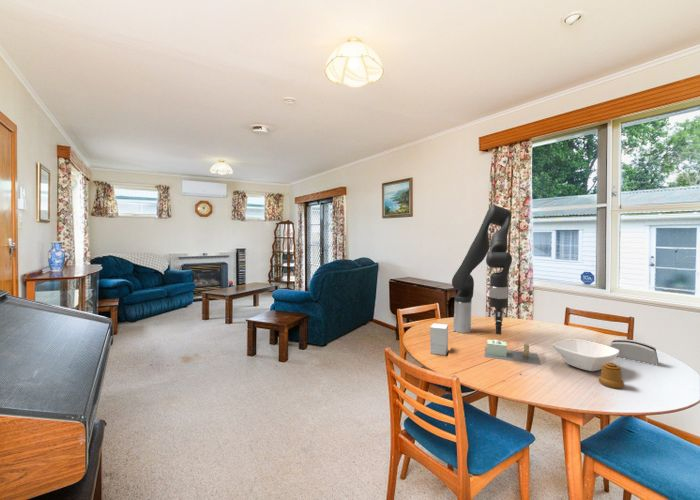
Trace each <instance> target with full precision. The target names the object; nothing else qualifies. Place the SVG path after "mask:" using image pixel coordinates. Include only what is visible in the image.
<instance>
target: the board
mask: <svg viewBox="0 0 700 500" xmlns="http://www.w3.org/2000/svg"><path fill="white" fill-rule="evenodd" d="M494 340H495V341H494V344H499V341H500V340H499V339H494ZM483 356H484V357H483V358H488V359H495V360H503V361H510V362H517V363H518V362H519V363H523V364H524V363H525V364H526V363H527V364H533V365H540V366H541V365H542V363H541V361H540V357H539V354H538V353H535V352H530V345H529V344H528V343H524V344H523V351H519V350H510V349H507V356H506V357H503V356H496V355H488V354H487V346H485V347H484V355H483Z"/></svg>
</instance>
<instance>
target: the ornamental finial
mask: <svg viewBox="0 0 700 500" xmlns="http://www.w3.org/2000/svg"><path fill="white" fill-rule="evenodd" d="M622 375H623V374H622V368H620V366H619V365H617V364H616V363H614V362H607V363H606V364H604V365H602V369H601V374H600V375H599V376H598V382H599V383H600V384H601V385H603V386H604V387H606V388H610V389H616V390H618V389H622V388H623V387H624V386H625V382H624V380H623V379H622Z"/></svg>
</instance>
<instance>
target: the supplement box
mask: <svg viewBox="0 0 700 500" xmlns="http://www.w3.org/2000/svg"><path fill="white" fill-rule="evenodd" d="M429 329H430V330H429V334H430V335H429V336H430V347H429V348H430V349H429V350H430V352H429V353H430V354H433V355H434V354H435V355H440V356H447V353H448V352H447V351H449V324H441V323H432V324H431V326H430V327H429Z"/></svg>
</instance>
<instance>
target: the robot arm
mask: <svg viewBox="0 0 700 500" xmlns="http://www.w3.org/2000/svg"><path fill="white" fill-rule="evenodd" d="M511 221H512V213H511V211H510V210H509V209H507V208H504V207H502V206H499V205H495V204H493V205H491V206H490V207H489V208H488V210H487V211H486V214H485V216H484V218H483V220H482V223H481V225H480V227H479V229H478V232H477V233H476V236H475V237H474V239H473V242H472V243H471V244H470V246H469V248H468V251H467V252H466V254H465V257H464V259H463V260H462V262H461V264H460V265H459V267H458V269H457V270H456V272H454V274H453V276H452V279H451V284H452V287H453V289H455V290H457V291H458V292H457V294H456V295H455V296H454V309H453V311H454V314H453V332H456V333H460V334H469V333H470V334H471V333H472V299H473V297H474V287H475V281H474V278H473V276H472V274H471V273H472V271H474V269H476V268H477V267H478V266H479V265H480V264H481V263H482V262H483V261H484V259H485V263H486V265H487V267H489V268H493V269H494V268H496V269H502V270H501V271H499V272H493V273H491V274H490V277H489V279H490V286H489V287H490V288H489V307H491V308H494V310H493V317H494V322H495V335H502V326H503V321H504V320H503V319H504V310H502V309H506V308H508V307H509V305H508V304H509V302H508V301H509V292H508V291H509V290H508V276H509V271H510V269H511V265H512V262H513V256H512V254H511V253H510V252H507V251H508V234H509V230H510V225H511ZM490 225H495V226H497V227H500V228H499V229H497V230H496V231H495V232H494V233H493V234H492V236H491V239H490V240H489V228H490Z"/></svg>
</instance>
